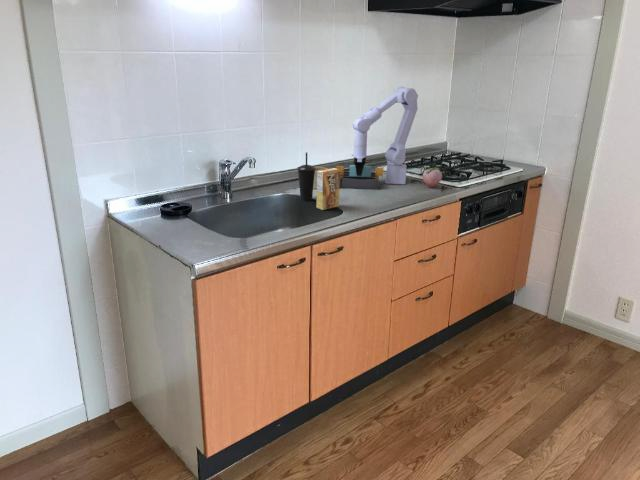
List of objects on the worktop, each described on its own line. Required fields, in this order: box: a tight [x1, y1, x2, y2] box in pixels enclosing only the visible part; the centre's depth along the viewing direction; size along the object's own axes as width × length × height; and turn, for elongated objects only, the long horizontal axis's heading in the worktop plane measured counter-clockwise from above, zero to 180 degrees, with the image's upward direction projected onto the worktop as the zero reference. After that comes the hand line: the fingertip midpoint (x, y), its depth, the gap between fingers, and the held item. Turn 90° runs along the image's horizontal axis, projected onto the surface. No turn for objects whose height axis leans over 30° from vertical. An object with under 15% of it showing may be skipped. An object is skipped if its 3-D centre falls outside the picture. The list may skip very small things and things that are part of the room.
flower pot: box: [313, 166, 328, 190], centre depth 237 cm, size 9×9×9 cm
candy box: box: [316, 167, 341, 211], centre depth 207 cm, size 9×4×15 cm, turn 129°
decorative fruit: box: [422, 166, 443, 188], centre depth 241 cm, size 9×8×10 cm
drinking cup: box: [296, 151, 316, 202], centre depth 217 cm, size 8×8×20 cm
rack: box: [335, 165, 384, 191], centre depth 243 cm, size 22×15×8 cm
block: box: [348, 164, 372, 177], centre depth 243 cm, size 10×2×8 cm, turn 85°
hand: (359, 174), depth 243 cm, fingers open, 5 cm apart
